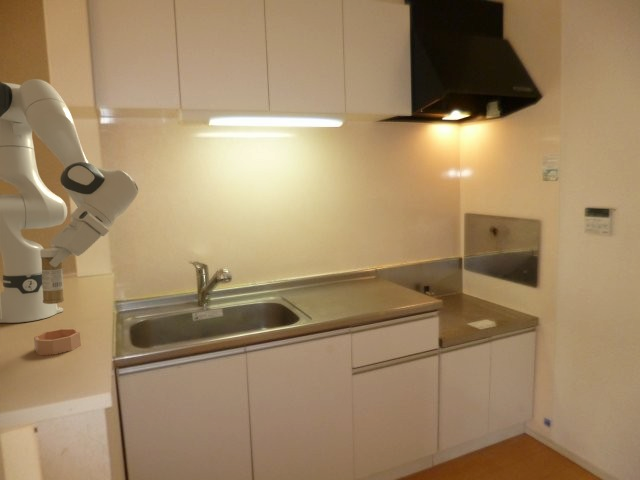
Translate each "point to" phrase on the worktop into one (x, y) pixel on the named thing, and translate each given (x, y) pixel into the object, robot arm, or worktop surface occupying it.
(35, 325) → the worktop surface
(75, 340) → the bowl
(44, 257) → the sprinkles bottle
